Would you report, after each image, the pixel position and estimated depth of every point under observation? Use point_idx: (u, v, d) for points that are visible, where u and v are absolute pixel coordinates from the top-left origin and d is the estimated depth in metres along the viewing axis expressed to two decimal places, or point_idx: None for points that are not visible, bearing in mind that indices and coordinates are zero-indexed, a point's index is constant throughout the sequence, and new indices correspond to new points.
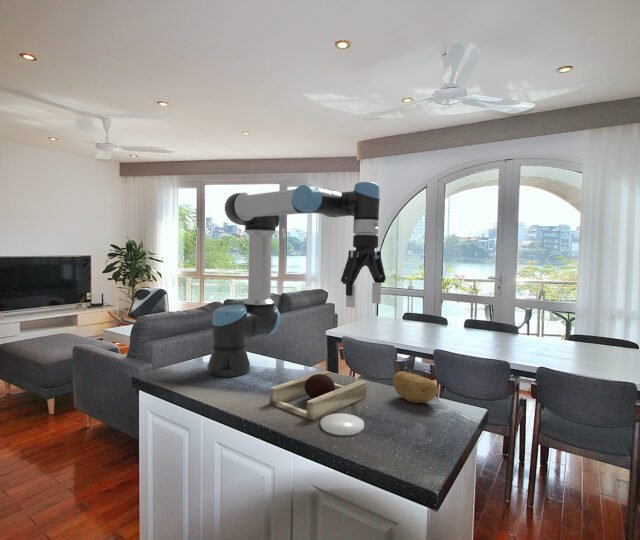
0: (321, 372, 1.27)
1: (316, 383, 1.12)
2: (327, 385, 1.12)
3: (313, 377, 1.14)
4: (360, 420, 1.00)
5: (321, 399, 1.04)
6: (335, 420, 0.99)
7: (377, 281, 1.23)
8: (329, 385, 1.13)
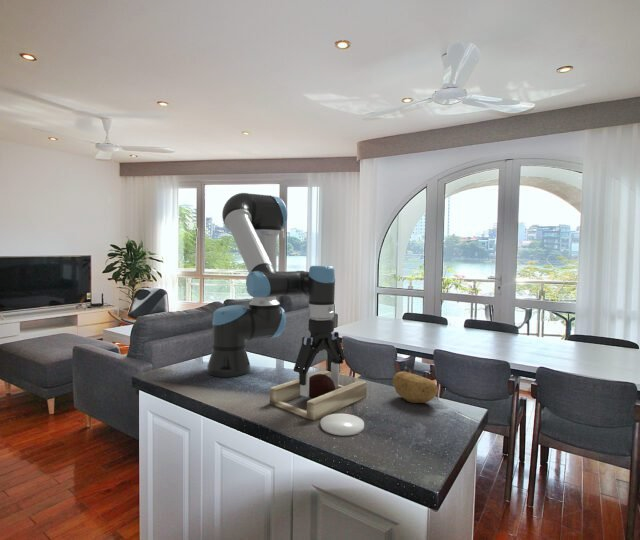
0: (321, 372, 1.27)
1: (316, 383, 1.12)
2: (327, 385, 1.12)
3: (313, 377, 1.14)
4: (360, 420, 1.00)
5: (321, 399, 1.04)
6: (335, 420, 0.99)
7: (335, 362, 1.20)
8: (329, 385, 1.13)
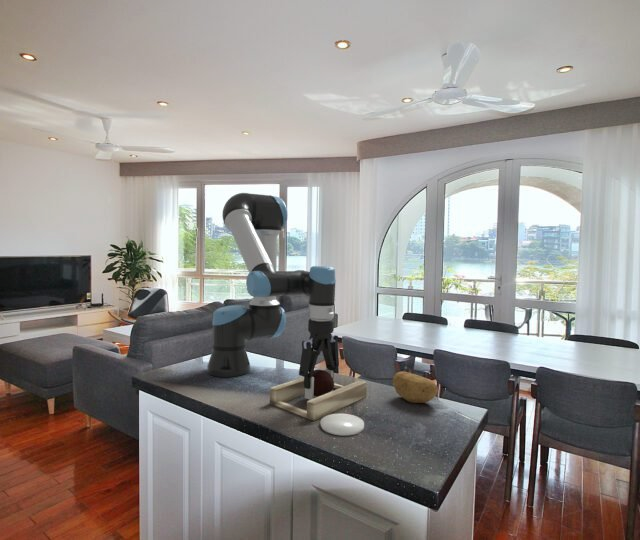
0: None
1: (315, 379, 1.12)
2: (326, 381, 1.13)
3: None
4: (360, 420, 1.00)
5: (321, 399, 1.04)
6: (335, 420, 0.99)
7: (329, 368, 1.19)
8: (328, 381, 1.13)
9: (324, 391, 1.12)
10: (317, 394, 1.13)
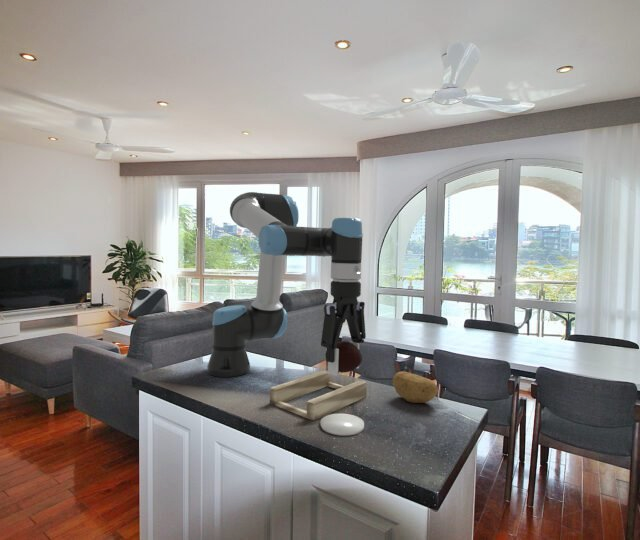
0: (321, 372, 1.27)
1: (339, 351, 0.95)
2: (353, 353, 0.95)
3: None
4: (360, 420, 1.00)
5: (321, 399, 1.04)
6: (335, 420, 0.99)
7: (355, 341, 1.01)
8: (355, 353, 0.95)
9: (351, 366, 0.95)
10: (342, 369, 0.95)
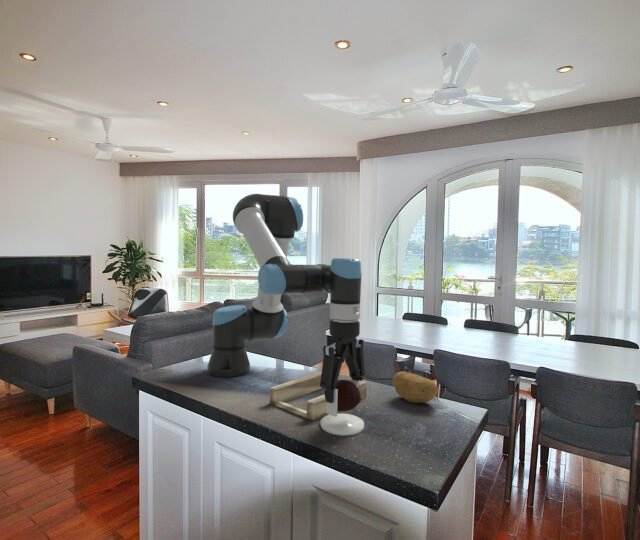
0: (321, 372, 1.27)
1: (339, 391, 0.95)
2: (352, 393, 0.95)
3: None
4: (360, 420, 1.00)
5: (321, 399, 1.04)
6: (335, 420, 0.99)
7: (354, 378, 1.01)
8: (354, 393, 0.96)
9: (350, 406, 0.95)
10: (341, 409, 0.95)
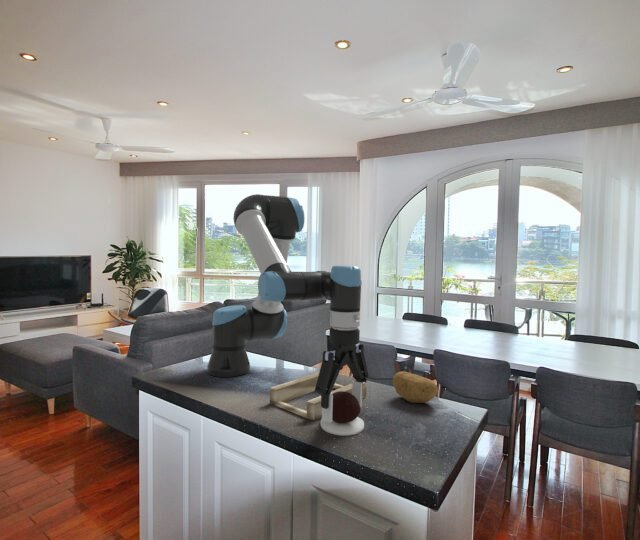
0: None
1: (338, 403, 0.95)
2: (352, 405, 0.96)
3: (335, 395, 0.97)
4: (360, 420, 1.00)
5: None
6: None
7: (358, 380, 1.03)
8: (354, 405, 0.96)
9: (349, 418, 0.95)
10: (341, 421, 0.95)
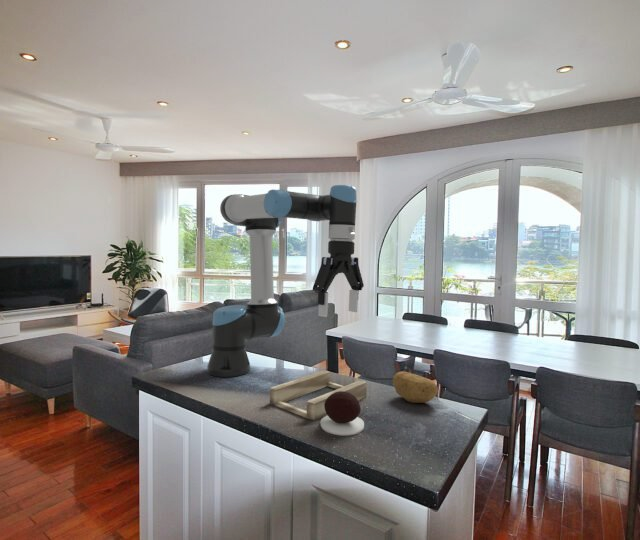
0: (321, 372, 1.27)
1: (338, 403, 0.95)
2: (352, 405, 0.96)
3: (335, 395, 0.97)
4: (360, 420, 1.00)
5: (321, 399, 1.04)
6: None
7: (354, 288, 1.18)
8: (354, 405, 0.96)
9: (349, 418, 0.95)
10: (341, 421, 0.95)
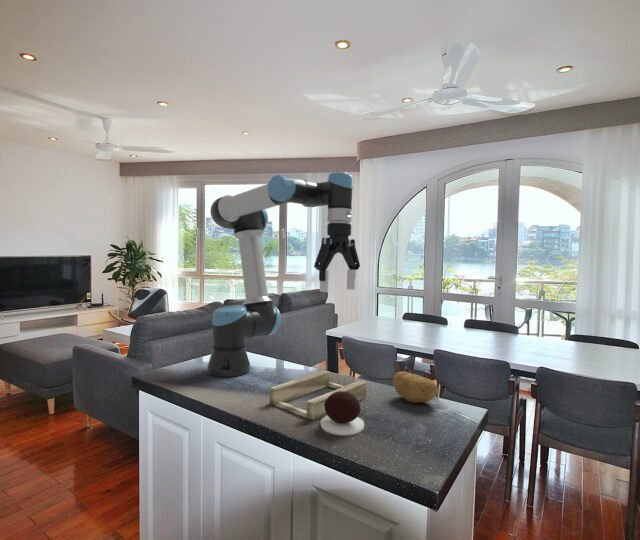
0: (321, 372, 1.27)
1: (338, 403, 0.95)
2: (352, 405, 0.96)
3: (335, 395, 0.97)
4: (360, 420, 1.00)
5: (321, 399, 1.04)
6: None
7: (351, 268, 1.28)
8: (354, 405, 0.96)
9: (349, 418, 0.95)
10: (341, 421, 0.95)
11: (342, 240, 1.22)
